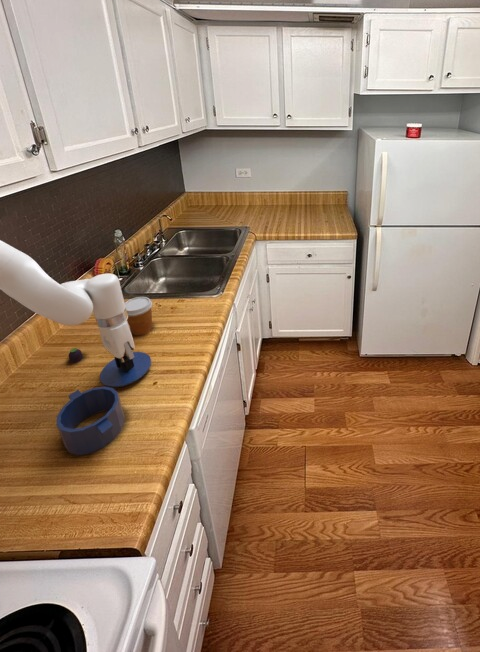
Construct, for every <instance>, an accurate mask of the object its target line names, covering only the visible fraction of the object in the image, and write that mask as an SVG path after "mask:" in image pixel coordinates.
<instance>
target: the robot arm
mask: <svg viewBox="0 0 480 652" xmlns="http://www.w3.org/2000/svg"><path fill="white" fill-rule="evenodd" d="M0 291H2V292H3V293H5V294H6V295H7V296H8V297H10V298H12V299H13V300H14V301H16V302H18V304H19V303H20V304H21V305H22V306H24V307H25V308H27V309H28V310H31V312H33V313H35V314H37V315H39V316H41V317H43V318H46V319H48V320H49V321H51V322H54V323H57V324H60V325H63V326H72V327H73V326H78V325H82V324H83V323H85V322H87V321H88V320H89V319H90V318H91V316H92V315H94V318H95V322H96V325H97V327H98V332H99V337H100V341H101V344H102V347H103V348H104V349H105V350H106V351H107V352H108V353H110V354H111V355H112V356H113V358H114V359H115V362H116V365H117V368H120V367H121V368H122V372H123V373H125V372H127V371H128V370H130V369H131V368H133V367H134V363H133V359H132V358H134V355H133V352H134V351H135V349H136V346H135V342H134V341H135V340H134V338H133V333H132V331H131V329H130V326H129V324H128V322H127V319H128V314H127V310H126V306H125V302H126V301H125V299H124V295H123V291H122V287H121V282H120V279H119V277H118V276H117V275H116V274H114V273H110V272H109V273H101V274H97V275H95V276H92V277H91V278H85V279H78V280H70V281H65V282H63V283H59V282H57V281H56V280H55V279H53V278H52V277H50V276H49V274H47V272H45V270H44V269H43V268H42V267H41V266H40V265H39V264H38V263H37V261H36V260H35V259H33V258H32V257H31V256H29V255H28V254H27V253H24V252H22V251H21V250H19V249H17V248H15V247H14V246H12V245H10V244H8V243H6V242H5V241H3V240H1V239H0ZM124 354H127V355H126V356H124ZM123 356H124V357H123ZM118 358H120V359H121V362H119V359H118ZM120 364H121V366H120Z"/></svg>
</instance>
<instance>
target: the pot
mask: <svg viewBox="0 0 480 652" xmlns="http://www.w3.org/2000/svg"><path fill="white" fill-rule="evenodd" d="M119 395H120V394H119V392H118V391H117V390H116V389H114V387H107V386H98V387H97V386H96V387H92V388H90V389H87V390H85V391H82V392H81V391H80V390H79V389H76V390H75V391H73V392H71V393H70V394H68V395H67V397H68V399H69V401H67V402H66V403H65V404H64V405H63V406H62V408H61V409H60V411H59V412H58V414H57V416H56V423H55V424H56V427H57V430H58V432H59V435H60V438H61V440H62V443H63V445H64V448H65V450H67V451H68V453H69V454H72V455H76V456H81V455H89V454H92V453H95V452H96V451H99V450H101V449H103V448H104V447H106V446H107V445H108V444H110V443H112V441H114V440H115V439H116V438H117V436H118V435H119V434H120V433H121V431H122V429H123V427H124V424H125V422H126V420H125V413H124V409H123V406H122V402H121V399H120V396H119ZM106 411H107V413H105V414H104V416H102V417H100V418H99V419H97V420H96V421H95V422H93V423H90V424H88V425H86V426H83V427H78V425H80V424H81V423H82V422H83V421H85V420H86V419H87V418H89V417H90V416H93V415H95V414H97V413H100V412H106ZM77 427H78V428H77Z"/></svg>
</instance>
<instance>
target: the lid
mask: <svg viewBox="0 0 480 652" xmlns="http://www.w3.org/2000/svg"><path fill="white" fill-rule="evenodd" d="M132 352H133V355H134V358H132V359H133V363H134V367H133V368H131V369H130V370H128V371H127V372H125V373H123V372H122V368H121V367H120V368H117V365H116V362H115V358H114V359H112V360H111V361H109V362H108V363H106V365H105V366H103V368H102V370H101V371H100V374H99V380H100V382H101V384H102V385H103V386H104V387H110V388H121V387H125V386H128V385H131V384H133V383H135V382H137V381H138V380H140V379H141V378H142V377H144V376H145V375H146V374H147V372H148V371H149V370H150V368H151V366H152V358H151V356H150V355H149V354H148V353H146V352H142V351H132ZM126 355H127V354H124V356H126ZM124 356H123V357H124ZM118 359H119V362H121V359H120V358H118ZM120 366H121V364H120Z"/></svg>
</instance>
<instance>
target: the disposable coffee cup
mask: <svg viewBox="0 0 480 652" xmlns="http://www.w3.org/2000/svg"><path fill="white" fill-rule="evenodd" d="M124 302H125V306H126V310H127V314H128V319H127V320H126V321H127V323H128V326H129V328H130V331H131V334H132V335H134V336H144V335H146V334H148V333H150V332H151V331H152V329H153V314H152V313H153V312H152V307H153V301H152V300H151V299H150V298H149V297H147V296H136V297H133V298H130V299H128V300H127V301H124Z"/></svg>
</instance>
